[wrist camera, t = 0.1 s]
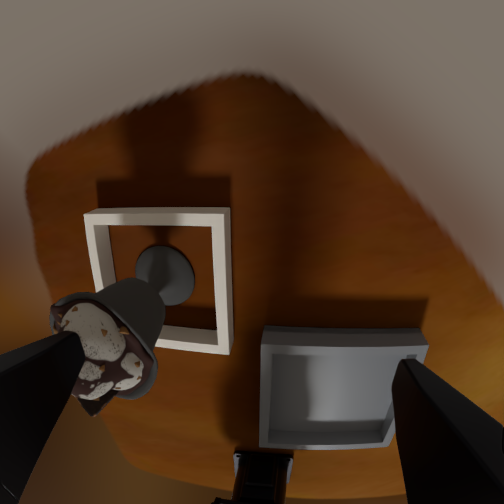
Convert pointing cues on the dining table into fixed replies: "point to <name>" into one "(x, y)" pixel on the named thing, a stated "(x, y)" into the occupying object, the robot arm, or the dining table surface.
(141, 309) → the sundae
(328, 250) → the dining table surface
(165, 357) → the dining table surface
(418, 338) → the tray
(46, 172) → the dining table surface
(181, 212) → the white square frame
